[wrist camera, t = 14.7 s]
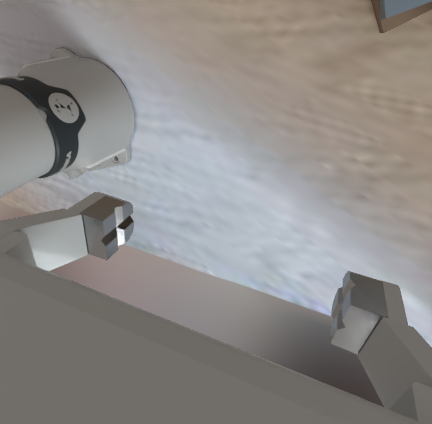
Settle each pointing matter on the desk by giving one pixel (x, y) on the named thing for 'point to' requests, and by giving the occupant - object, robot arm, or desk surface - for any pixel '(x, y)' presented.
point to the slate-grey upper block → (398, 6)
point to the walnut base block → (398, 16)
